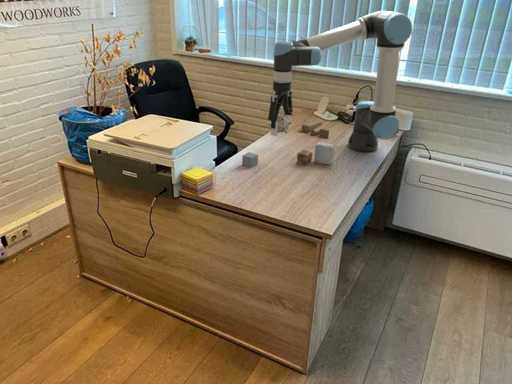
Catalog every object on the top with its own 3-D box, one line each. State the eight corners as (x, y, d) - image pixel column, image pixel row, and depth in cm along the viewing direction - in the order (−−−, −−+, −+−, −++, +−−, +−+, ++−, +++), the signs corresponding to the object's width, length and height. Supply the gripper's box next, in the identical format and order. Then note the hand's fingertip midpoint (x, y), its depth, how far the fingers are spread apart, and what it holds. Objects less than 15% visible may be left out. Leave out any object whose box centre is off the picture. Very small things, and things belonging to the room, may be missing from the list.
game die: (283, 142, 191) (289, 129, 183) (265, 134, 191) (270, 120, 183) (289, 127, 196) (295, 114, 187) (272, 119, 196) (277, 106, 187)
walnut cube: (311, 162, 201) (312, 152, 198) (306, 165, 197) (307, 155, 195) (301, 159, 203) (302, 149, 201) (296, 163, 199) (297, 152, 197)
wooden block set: (301, 123, 236) (317, 116, 249) (300, 132, 239) (316, 125, 251) (328, 129, 227) (344, 122, 240) (327, 140, 229) (343, 131, 242)
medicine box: (333, 162, 201) (335, 144, 197) (330, 165, 198) (332, 147, 194) (316, 158, 204) (318, 141, 200) (313, 162, 201) (315, 144, 197)
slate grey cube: (257, 164, 196) (258, 154, 194) (251, 168, 192) (251, 158, 190) (248, 162, 198) (248, 152, 196) (242, 165, 194) (242, 155, 192)
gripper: (287, 75, 190) (285, 124, 201) (260, 84, 174) (259, 137, 184) (302, 77, 187) (299, 127, 197) (276, 87, 170) (274, 140, 181)
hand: (280, 132), depth 191 cm, fingers closed on game die, 9 cm apart
